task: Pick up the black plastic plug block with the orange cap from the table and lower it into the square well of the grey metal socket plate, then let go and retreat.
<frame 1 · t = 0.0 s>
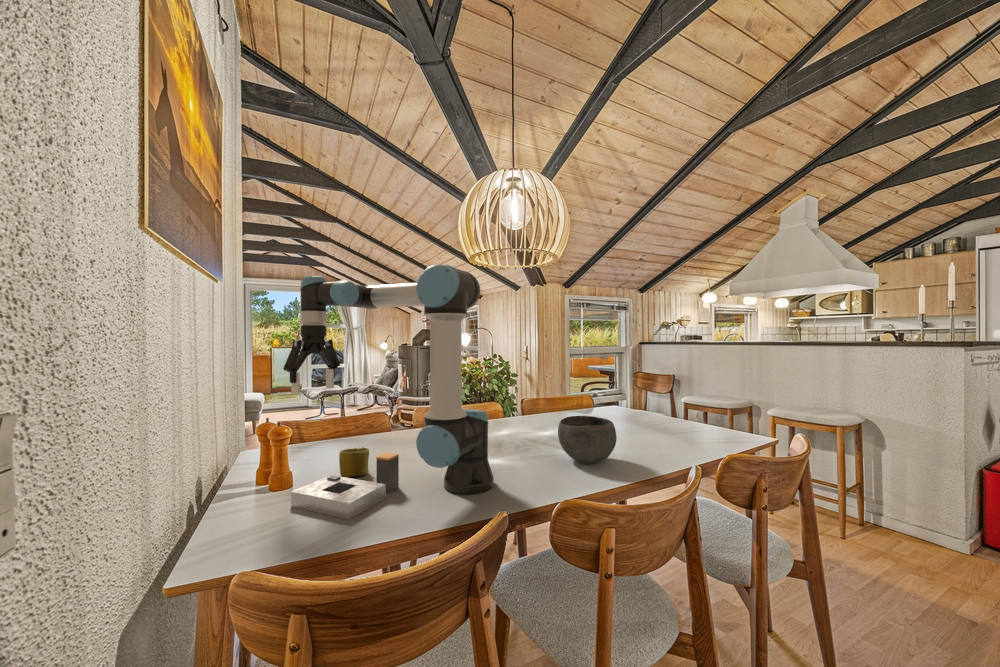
hand: (313, 390, 130), 28 cm above the table, fingers open, 13 cm apart
socket plate: (339, 502, 111), on the table
plug: (387, 489, 121), on the table
mug: (356, 473, 135), on the table
bowl: (586, 462, 147), on the table
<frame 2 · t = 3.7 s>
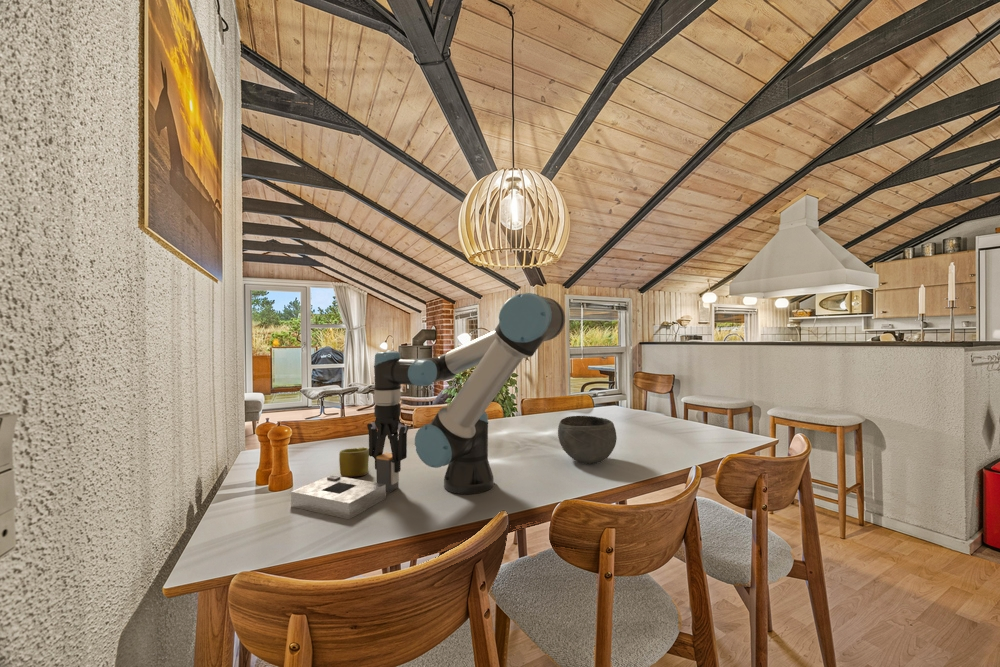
hand: (387, 481, 121), 2 cm above the table, fingers closed on plug, 4 cm apart
plug: (387, 489, 121), on the table, touching gripper
everything else where it was.
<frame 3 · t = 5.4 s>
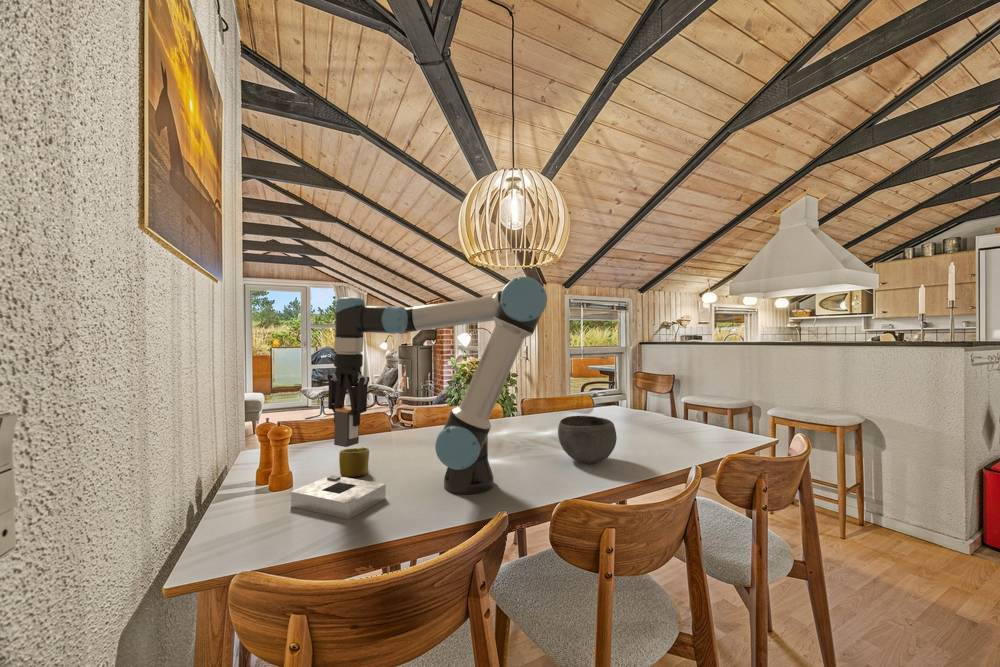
hand: (346, 436, 113), 18 cm above the table, fingers closed on plug, 4 cm apart
plug: (346, 444, 113), point 15 cm above the table, touching gripper
everything else where it was.
when the fingers open (5 cm above the table, at t = 7.4 s): plug drops 3 cm, resting on socket plate.
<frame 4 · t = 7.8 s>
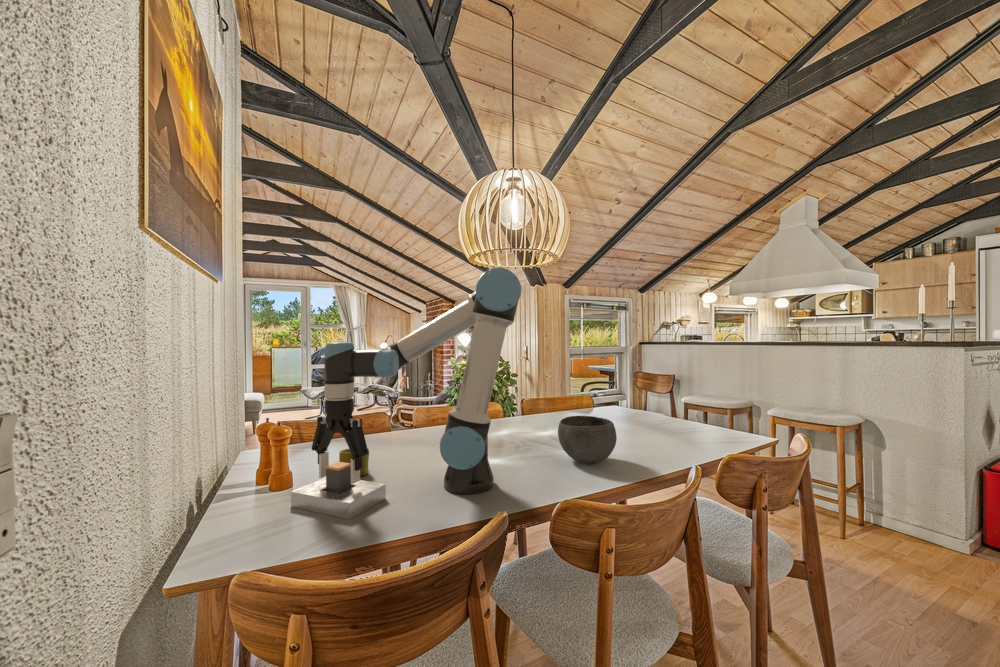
hand: (339, 479, 111), 6 cm above the table, fingers open, 10 cm apart
plug: (338, 501, 111), resting on socket plate
everything else where it was.
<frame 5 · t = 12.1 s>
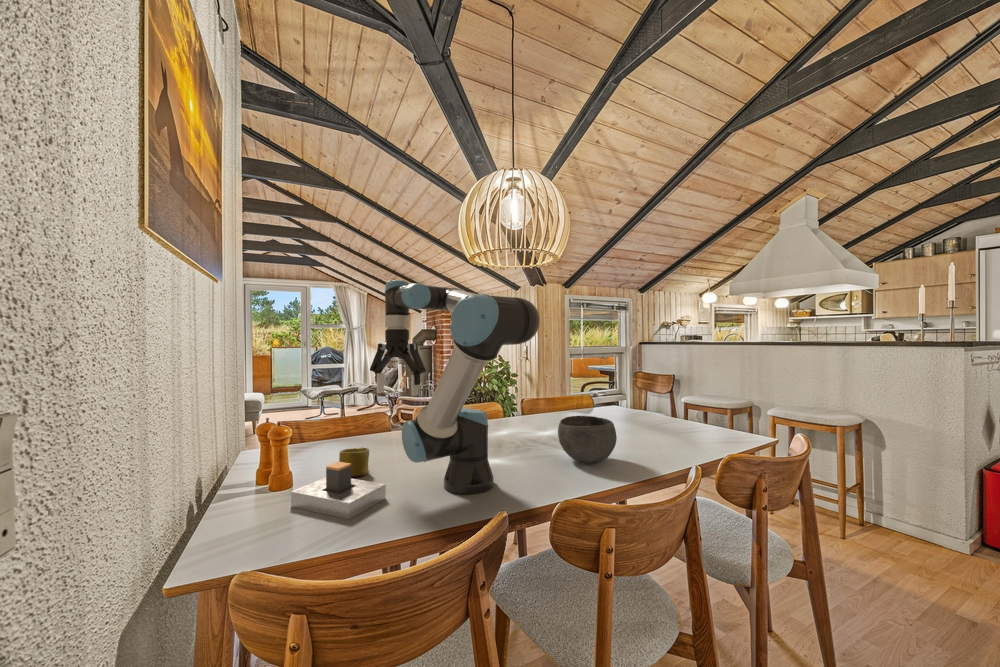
hand: (397, 394, 132), 27 cm above the table, fingers open, 13 cm apart
nothing on the table moved.
at the end: plug 0.3 cm off-centre on the socket plate, point 0.2 cm above the socket plate's base; plug tilted 0°; the gripper is holding nothing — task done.
